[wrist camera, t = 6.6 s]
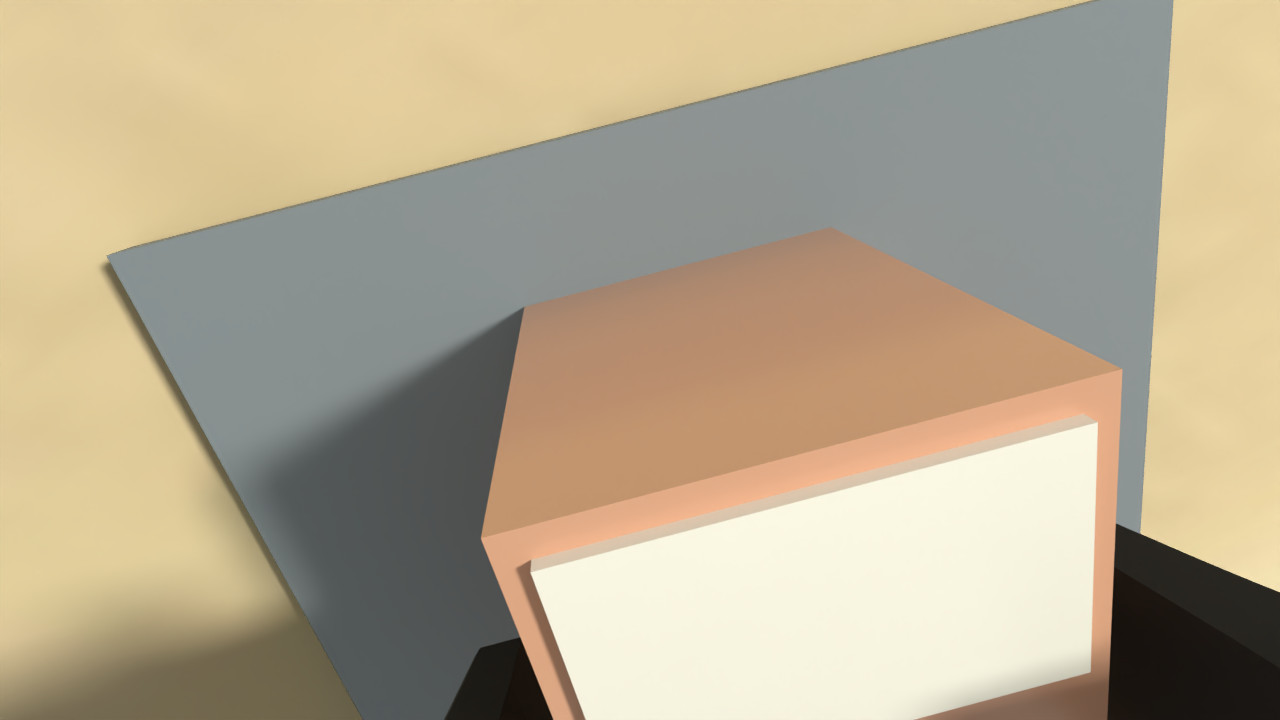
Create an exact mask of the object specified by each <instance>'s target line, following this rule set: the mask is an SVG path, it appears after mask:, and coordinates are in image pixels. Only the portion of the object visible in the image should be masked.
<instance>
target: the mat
mask: <svg viewBox="0 0 1280 720" xmlns="http://www.w3.org/2000/svg"><path fill="white" fill-rule="evenodd" d="M1172 14H1173V0H1092V1H1088V2H1084V3H1081V4H1077V5H1073V6H1069V7H1065V8H1061V9H1057V10H1053V11H1049V12H1045V13H1042V14H1038V15H1034V16H1030V17H1026V18H1022V19H1018V20H1014V21H1010V22H1007V23H1003V24H999V25H995V26H991V27H987V28H983V29H979V30H975V31H971V32H968V33H964V34H960V35H956V36H952V37H948V38H944V39H940V40H936V41H932V42H929V43H925V44H921V45H917V46H913V47H909V48H905V49H901V50H897V51H894V52H890V53H886V54H882V55H878V56H874V57H870V58H866V59H862V60H858V61H855V62H851V63H847V64H843V65H839V66H835V67H831V68H827V69H823V70H819V71H816V72H812V73H808V74H804V75H800V76H796V77H792V78H788V79H784V80H781V81H777V82H773V83H769V84H765V85H761V86H757V87H753V88H749V89H745V90H742V91H738V92H734V93H730V94H726V95H722V96H718V97H714V98H710V99H706V100H703V101H699V102H695V103H691V104H687V105H683V106H679V107H675V108H671V109H668V110H664V111H660V112H656V113H652V114H648V115H644V116H640V117H636V118H632V119H629V120H625V121H621V122H617V123H613V124H609V125H605V126H601V127H597V128H593V129H590V130H586V131H582V132H578V133H574V134H570V135H566V136H562V137H558V138H555V139H551V140H547V141H543V142H539V143H535V144H531V145H527V146H523V147H519V148H516V149H512V150H508V151H504V152H500V153H496V154H492V155H488V156H484V157H480V158H477V159H473V160H469V161H465V162H461V163H457V164H453V165H449V166H445V167H442V168H438V169H434V170H430V171H426V172H422V173H418V174H414V175H410V176H406V177H403V178H399V179H395V180H391V181H387V182H383V183H379V184H375V185H371V186H368V187H364V188H360V189H356V190H352V191H348V192H344V193H340V194H336V195H332V196H329V197H325V198H321V199H317V200H313V201H309V202H305V203H301V204H297V205H293V206H290V207H286V208H282V209H278V210H274V211H270V212H266V213H262V214H258V215H255V216H251V217H247V218H243V219H239V220H235V221H231V222H227V223H223V224H219V225H216V226H212V227H208V228H204V229H200V230H196V231H192V232H188V233H184V234H180V235H177V236H173V237H169V238H165V239H161V240H157V241H153V242H149V243H145V244H142V245H138V246H134V247H130V248H127V249H124V250H122V251H119V252H116V253H113V254H110V255H107V258H108V259H109V261H110V263H111V265H112V267H113V269H114V270H115V272H116V274H117V276H118V278H119V279H120V281H121V283H122V285H123V287H124V288H125V290H126V292H127V294H128V296H129V297H130V299H131V301H132V303H133V305H134V307H135V308H136V310H137V312H138V314H139V316H140V317H141V319H142V321H143V323H144V325H145V326H146V328H147V330H148V332H149V334H150V335H151V337H152V339H153V341H154V343H155V345H156V346H157V348H158V350H159V352H160V354H161V355H162V357H163V359H164V361H165V363H166V364H167V366H168V368H169V370H170V372H171V373H172V375H173V377H174V379H175V381H176V383H177V384H178V386H179V388H180V390H181V392H182V393H183V395H184V397H185V399H186V401H187V402H188V404H189V406H190V408H191V410H192V411H193V413H194V415H195V417H196V419H197V421H198V422H199V424H200V426H201V428H202V430H203V431H204V433H205V435H206V437H207V439H208V440H209V442H210V444H211V446H212V448H213V449H214V451H215V453H216V455H217V457H218V458H219V460H220V462H221V464H222V466H223V468H224V469H225V471H226V473H227V475H228V477H229V478H230V480H231V482H232V484H233V486H234V487H235V489H236V491H237V493H238V495H239V496H240V498H241V500H242V502H243V504H244V506H245V507H246V509H247V511H248V513H249V515H250V516H251V518H252V520H253V522H254V524H255V525H256V527H257V529H258V531H259V533H260V534H261V536H262V538H263V540H264V542H265V544H266V545H267V547H268V549H269V551H270V553H271V554H272V556H273V558H274V560H275V562H276V563H277V565H278V567H279V569H280V571H281V572H282V574H283V576H284V578H285V580H286V582H287V583H288V585H289V587H290V589H291V591H292V592H293V594H294V596H295V598H296V600H297V601H298V603H299V605H300V607H301V609H302V610H303V612H304V614H305V616H306V618H307V620H308V621H309V623H310V625H311V627H312V629H313V630H314V632H315V634H316V636H317V638H318V639H319V641H320V643H321V645H322V647H323V648H324V650H325V652H326V654H327V656H328V658H329V659H330V661H331V663H332V665H333V667H334V668H335V670H336V672H337V674H338V676H339V677H340V679H341V681H342V683H343V685H344V686H345V688H346V690H347V692H348V694H349V696H350V697H351V699H352V701H353V703H354V705H355V706H356V708H357V710H358V712H359V714H360V715H361V717H362V719H363V720H444V718H445V716H446V714H447V712H448V710H449V708H450V706H451V704H452V702H453V700H454V698H455V696H456V694H457V692H458V690H459V688H460V686H461V684H462V682H463V680H464V677H465V675H466V673H467V671H468V669H469V667H470V665H471V663H472V661H473V659H474V657H475V655H476V654H477V652H478V650H479V649H480V648H481V647H485V646H489V645H493V644H496V643H500V642H504V641H508V640H512V639H515V638H519V637H520V635H519V632H518V630H517V627H516V625H515V622H514V620H513V617H512V615H511V612H510V610H509V607H508V605H507V603H506V600H505V598H504V595H503V593H502V590H501V588H500V585H499V583H498V580H497V578H496V575H495V573H494V570H493V568H492V565H491V563H490V560H489V558H488V555H487V553H486V550H485V548H484V545H483V543H482V540H481V535H482V529H483V524H484V519H485V513H486V508H487V503H488V498H489V492H490V487H491V482H492V476H493V471H494V466H495V460H496V455H497V450H498V445H499V439H500V434H501V429H502V423H503V418H504V413H505V407H506V402H507V397H508V392H509V386H510V381H511V376H512V370H513V365H514V360H515V354H516V349H517V344H518V338H519V333H520V328H521V323H522V317H523V312H524V307H526V306H529V305H533V304H537V303H541V302H545V301H549V300H552V299H556V298H560V297H564V296H568V295H572V294H575V293H579V292H583V291H587V290H591V289H595V288H598V287H602V286H606V285H610V284H614V283H618V282H621V281H625V280H629V279H633V278H637V277H641V276H645V275H648V274H652V273H656V272H660V271H664V270H668V269H671V268H675V267H679V266H683V265H687V264H691V263H694V262H698V261H702V260H706V259H710V258H714V257H717V256H721V255H725V254H729V253H733V252H737V251H740V250H744V249H748V248H752V247H756V246H760V245H764V244H767V243H771V242H775V241H779V240H783V239H787V238H790V237H794V236H798V235H802V234H806V233H810V232H813V231H817V230H821V229H825V228H829V227H832V228H834V229H836V230H838V231H840V232H842V233H844V234H847V235H849V236H851V237H853V238H855V239H857V240H859V241H861V242H863V243H865V244H867V245H869V246H871V247H873V248H875V249H877V250H879V251H881V252H883V253H885V254H888V255H890V256H892V257H894V258H896V259H898V260H900V261H902V262H904V263H906V264H908V265H910V266H912V267H914V268H916V269H918V270H920V271H922V272H924V273H926V274H929V275H931V276H933V277H935V278H937V279H939V280H941V281H943V282H945V283H947V284H949V285H951V286H953V287H955V288H957V289H959V290H961V291H963V292H965V293H967V294H970V295H972V296H974V297H976V298H978V299H980V300H982V301H984V302H986V303H988V304H990V305H992V306H994V307H996V308H998V309H1000V310H1002V311H1004V312H1006V313H1009V314H1011V315H1013V316H1015V317H1017V318H1019V319H1021V320H1023V321H1025V322H1027V323H1029V324H1031V325H1033V326H1035V327H1037V328H1039V329H1041V330H1043V331H1045V332H1047V333H1050V334H1052V335H1054V336H1056V337H1058V338H1060V339H1062V340H1064V341H1066V342H1068V343H1070V344H1072V345H1074V346H1076V347H1078V348H1080V349H1082V350H1084V351H1086V352H1088V353H1091V354H1093V355H1095V356H1097V357H1099V358H1101V359H1103V360H1105V361H1107V362H1109V363H1111V364H1113V365H1115V366H1117V367H1119V368H1121V369H1122V392H1121V415H1120V438H1119V461H1118V484H1117V507H1116V524H1119V525H1121V526H1123V527H1126V528H1128V529H1130V530H1132V531H1135V532H1137V533H1139V534H1140V527H1141V511H1142V494H1143V478H1144V462H1145V446H1146V430H1147V414H1148V398H1149V382H1150V366H1151V350H1152V334H1153V318H1154V302H1155V286H1156V270H1157V254H1158V238H1159V222H1160V206H1161V190H1162V174H1163V158H1164V142H1165V126H1166V110H1167V94H1168V78H1169V62H1170V46H1171V30H1172Z"/></svg>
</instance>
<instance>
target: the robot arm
mask: <svg viewBox="0 0 1280 720" xmlns="http://www.w3.org/2000/svg"><path fill="white" fill-rule="evenodd" d="M444 720H553V717H552V715H551V712H550V710H549V707H548V705H547V702H546V700H545V697H544V695H543V692H542V690H541V687H540V685H539V682H538V680H537V677H536V675H535V672H534V670H533V667H532V665H531V662H530V660H529V657H528V655H527V652H526V650H525V647H524V645H523V642H522V640H521V637H519V638H515V639H512V640H508V641H504V642H500V643H496V644H493V645H489V646H485V647H481V648H480V649H479V650H478V652H477V654H476V655H475V657H474V659H473V661H472V663H471V665H470V667H469V669H468V671H467V673H466V675H465V677H464V680H463V682H462V684H461V686H460V688H459V690H458V692H457V694H456V696H455V698H454V700H453V702H452V704H451V706H450V708H449V710H448V712H447V714H446V716H445V718H444ZM1107 720H1280V592H1277V591H1275V590H1272V589H1270V588H1267V587H1265V586H1262V585H1260V584H1257V583H1255V582H1252V581H1250V580H1248V579H1245V578H1243V577H1240V576H1238V575H1235V574H1233V573H1231V572H1228V571H1226V570H1223V569H1221V568H1219V567H1216V566H1214V565H1211V564H1209V563H1207V562H1204V561H1202V560H1200V559H1197V558H1195V557H1193V556H1190V555H1188V554H1186V553H1183V552H1181V551H1179V550H1176V549H1174V548H1172V547H1169V546H1167V545H1165V544H1162V543H1160V542H1158V541H1155V540H1153V539H1151V538H1149V537H1146V536H1144V535H1142V534H1139V533H1137V532H1135V531H1132V530H1130V529H1128V528H1126V527H1123V526H1121V525H1119V524H1116V529H1115V552H1114V575H1113V598H1112V621H1111V644H1110V667H1109V690H1108V713H1107Z"/></svg>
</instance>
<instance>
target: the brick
mask: <svg viewBox="0 0 1280 720" xmlns="http://www.w3.org/2000/svg"><path fill="white" fill-rule="evenodd" d="M1121 392H1122V369H1121V368H1119V367H1117V366H1115V365H1113V364H1111V363H1109V362H1107V361H1105V360H1103V359H1101V358H1099V357H1097V356H1095V355H1093V354H1091V353H1088V352H1086V351H1084V350H1082V349H1080V348H1078V347H1076V346H1074V345H1072V344H1070V343H1068V342H1066V341H1064V340H1062V339H1060V338H1058V337H1056V336H1054V335H1052V334H1050V333H1047V332H1045V331H1043V330H1041V329H1039V328H1037V327H1035V326H1033V325H1031V324H1029V323H1027V322H1025V321H1023V320H1021V319H1019V318H1017V317H1015V316H1013V315H1011V314H1009V313H1006V312H1004V311H1002V310H1000V309H998V308H996V307H994V306H992V305H990V304H988V303H986V302H984V301H982V300H980V299H978V298H976V297H974V296H972V295H970V294H967V293H965V292H963V291H961V290H959V289H957V288H955V287H953V286H951V285H949V284H947V283H945V282H943V281H941V280H939V279H937V278H935V277H933V276H931V275H929V274H926V273H924V272H922V271H920V270H918V269H916V268H914V267H912V266H910V265H908V264H906V263H904V262H902V261H900V260H898V259H896V258H894V257H892V256H890V255H888V254H885V253H883V252H881V251H879V250H877V249H875V248H873V247H871V246H869V245H867V244H865V243H863V242H861V241H859V240H857V239H855V238H853V237H851V236H849V235H847V234H844V233H842V232H840V231H838V230H836V229H834V228H832V227H829V228H825V229H821V230H817V231H813V232H810V233H806V234H802V235H798V236H794V237H790V238H787V239H783V240H779V241H775V242H771V243H767V244H764V245H760V246H756V247H752V248H748V249H744V250H740V251H737V252H733V253H729V254H725V255H721V256H717V257H714V258H710V259H706V260H702V261H698V262H694V263H691V264H687V265H683V266H679V267H675V268H671V269H668V270H664V271H660V272H656V273H652V274H648V275H645V276H641V277H637V278H633V279H629V280H625V281H621V282H618V283H614V284H610V285H606V286H602V287H598V288H595V289H591V290H587V291H583V292H579V293H575V294H572V295H568V296H564V297H560V298H556V299H552V300H549V301H545V302H541V303H537V304H533V305H529V306H526V307H524V312H523V317H522V323H521V328H520V333H519V338H518V344H517V349H516V354H515V360H514V365H513V370H512V376H511V381H510V386H509V392H508V397H507V402H506V407H505V413H504V418H503V423H502V429H501V434H500V439H499V445H498V450H497V455H496V460H495V466H494V471H493V476H492V482H491V487H490V492H489V498H488V503H487V508H486V513H485V519H484V524H483V529H482V535H481V540H482V543H483V545H484V548H485V550H486V553H487V555H488V558H489V560H490V563H491V565H492V568H493V570H494V573H495V575H496V578H497V580H498V583H499V585H500V588H501V590H502V593H503V595H504V598H505V600H506V603H507V605H508V607H509V610H510V612H511V615H512V617H513V620H514V622H515V625H516V627H517V630H518V632H519V635H520V637H521V640H522V642H523V645H524V647H525V650H526V652H527V655H528V657H529V660H530V662H531V665H532V667H533V670H534V672H535V675H536V677H537V680H538V682H539V685H540V687H541V690H542V692H543V695H544V697H545V700H546V702H547V705H548V707H549V710H550V712H551V715H552V717H553V720H1107V713H1108V690H1109V667H1110V644H1111V621H1112V598H1113V575H1114V552H1115V529H1116V507H1117V484H1118V461H1119V438H1120V415H1121Z"/></svg>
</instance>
